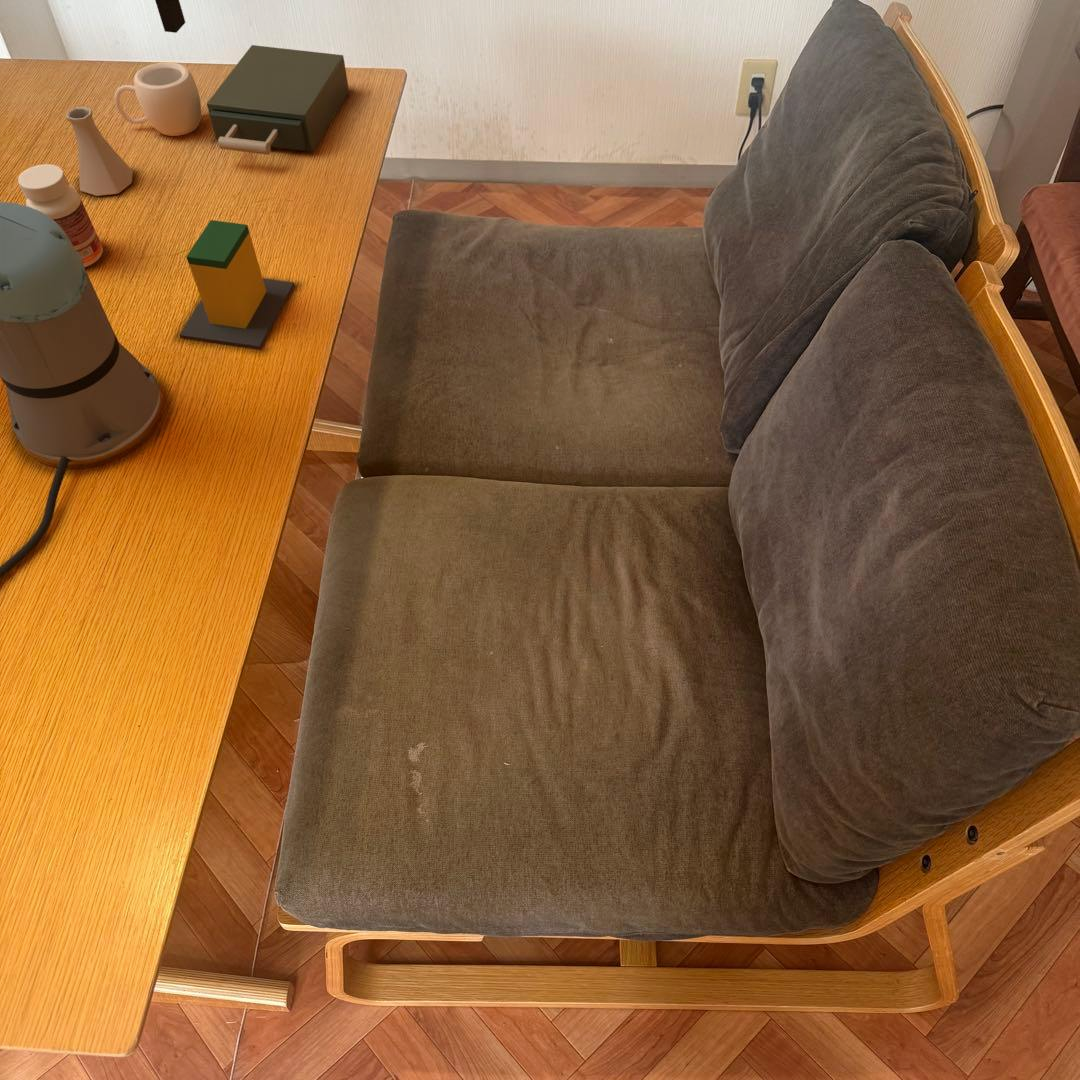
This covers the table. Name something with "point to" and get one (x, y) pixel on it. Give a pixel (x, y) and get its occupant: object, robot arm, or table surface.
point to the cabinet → (286, 88)
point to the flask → (97, 157)
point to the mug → (165, 98)
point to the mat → (254, 331)
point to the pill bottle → (61, 208)
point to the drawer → (256, 132)
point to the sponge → (227, 273)
